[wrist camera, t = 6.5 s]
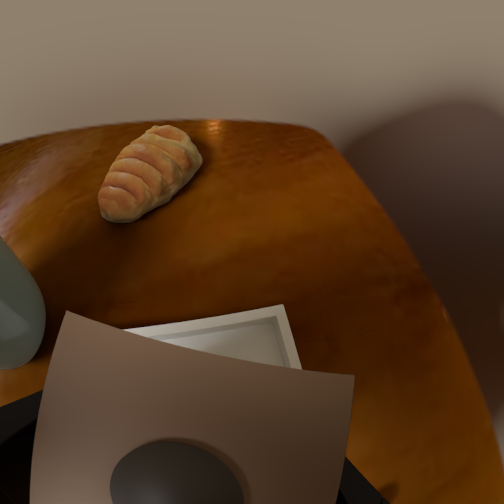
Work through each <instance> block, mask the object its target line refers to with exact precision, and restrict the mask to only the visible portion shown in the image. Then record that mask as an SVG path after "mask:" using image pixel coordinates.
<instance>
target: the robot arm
mask: <svg viewBox="0 0 504 504" xmlns="http://www.w3.org/2000/svg"><path fill="white" fill-rule="evenodd" d="M42 394H43V390H41V391H39V392H36V393H34V394H31V395H29V396H27V397H24V398H22V399H19V400H17V401H14V402H12V403H9V404H7V405H4V406H2V407H0V504H30V480H31V466H32V455H33V447H34V439H35V432H36V425H37V419H38V414H39V408H40V403H41V399H42ZM336 504H390V503H389V502H388V501H387V500H386V499H385V498H382V495H381V494H380V493H379V492H378V491H377V490H376V489H375V488H374V487H373V486H372V485H371V484H370V483H369V482H368V481H367V479H366V478H365V477H364V476H363V475H362V474H361V473H360V472H359V471H358V470H357V469H356V468H355V467H354V465H353V464H352V463H351V462H350V461H349V460H348V459H347V458H346V457H345V459H344V465H343V470H342V476H341V481H340V486H339V490H338V495H337V499H336Z"/></svg>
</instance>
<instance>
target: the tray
mask: <svg viewBox="0 0 504 504" xmlns="http://www.w3.org/2000/svg"><path fill="white" fill-rule="evenodd" d="M124 330H125V331H128V332H131V333H134V334H138V335H141V336H144V337H148V338H152V339H155V340H159V341H162V342H166V343H170V344H174V345H178V346H182V347H186V348H190V349H194V350H198V351H202V352H207V353H211V354H216V355H221V356H225V357H230V358H235V359H240V360H246V361H251V362H257V363H263V364H268V365H275V366H281V367H288V368H295V369H302V367H301V364H300V360H299V357H298V353H297V350H296V346H295V343H294V339H293V336H292V332H291V329H290V326H289V322H288V319H287V315H286V312H285V308H284V305H283V304H282V305H277V306H271V307H266V308H261V309H256V310H250V311H245V312H239V313H234V314H228V315H222V316H216V317H210V318H204V319H198V320H191V321H184V322H178V323H171V324H164V325H156V326H149V327H141V328H133V329H124Z"/></svg>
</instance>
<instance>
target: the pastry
mask: <svg viewBox="0 0 504 504" xmlns="http://www.w3.org/2000/svg"><path fill="white" fill-rule="evenodd" d="M202 161H203V159H202V156H201V155H200V153H199V152H198V150H197V147H196V146H195V145H194V144H193V143H192V142H191V139H190V137H189V136H188V135H187V134H186V133H185V132H183V131H181V130H180V129H178V128H175V127H173V126H170V125H165V126H153V127H152V128H151V129H149V130H147V131H146V133H145V134H144V135H142V136H141V137H139V138H138V139H136V140H134V141H133V142H131V143H130V145H128V146H127V147H125V148H124V149H123V150H122V151H121V152H120V154H119V156H118V157H117V158H116V160H115V161H114V163H113V164H112V165H111V167H110V170H109V172H108V173H107V175H106V178H105V180H104V182H103V184H102V186H101V189H100V191H99V194H98V202H99V206H100V213H101V215H102V217H103V218H105V219H106V220H108V221H110V222H114V223H131V222H133V221H135V220H138V219H139V218H140V217H141V216H142V215H144V214H145V213H147V212H149V211H151V210H153V209H155V208H156V207H158V206H162V205H164V204H166V203H167V202H169V201H170V199H171V197H172V196H173V195H175V194H176V193H177V192H178V191H179V190H180V189H181V188H182V187H183V186H184V185H185V184H186V183H187V182H188V181H189V180H190V179H191V178H192V177H193V175H194V173H195V172H196V171H197V170H198V169H199V167H200V166H201V165H202Z"/></svg>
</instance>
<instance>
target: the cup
mask: <svg viewBox="0 0 504 504" xmlns="http://www.w3.org/2000/svg"><path fill="white" fill-rule="evenodd" d="M45 327H46V307H45V302H44V298H43V295H42V293H41V290H40V288H39V286H38V284H37V283H36V281H35V279H34V278H33V276H32V275H31V273H30V272H29V271H28V269H27V268H26V267H25V265H24V264H23V263H22V261H21V260H20V259H19V258H18V256H17V255H16V254H15V253H14V251H13V250H12V249H11V248H10V247H9V245H8V244H7V243H6V242H5V241H4V240H3V238H2V237H1V236H0V370H13V369H17V368H20V367H22V366H24V365H26V364H27V363H28V362H29V361H30V360H31V359H32V358H33V357H34V356H35V354H36V353H37V351H38V349H39V347H40V345H41V342H42V339H43V336H44V332H45Z"/></svg>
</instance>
